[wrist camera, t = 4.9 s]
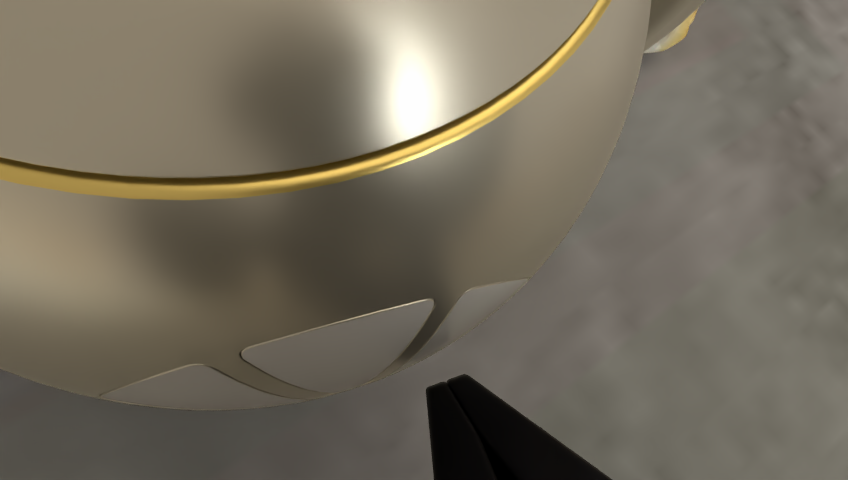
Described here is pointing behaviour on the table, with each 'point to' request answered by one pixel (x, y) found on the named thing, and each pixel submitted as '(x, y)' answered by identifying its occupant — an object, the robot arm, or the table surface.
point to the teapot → (290, 182)
